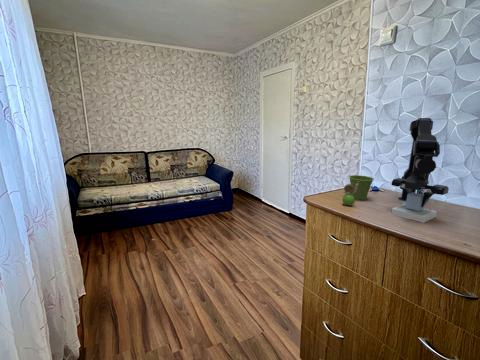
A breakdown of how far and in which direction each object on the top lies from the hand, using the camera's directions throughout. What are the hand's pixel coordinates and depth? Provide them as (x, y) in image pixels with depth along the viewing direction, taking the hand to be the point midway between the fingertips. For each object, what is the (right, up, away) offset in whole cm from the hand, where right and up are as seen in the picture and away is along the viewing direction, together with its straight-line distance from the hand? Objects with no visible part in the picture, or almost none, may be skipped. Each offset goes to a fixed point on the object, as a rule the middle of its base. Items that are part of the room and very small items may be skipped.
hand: (414, 205), depth 104 cm
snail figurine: (-22, -2, +14) cm, 26 cm away
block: (0, -1, 0) cm, 1 cm away
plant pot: (-12, +1, +25) cm, 28 cm away
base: (0, -4, +1) cm, 4 cm away
